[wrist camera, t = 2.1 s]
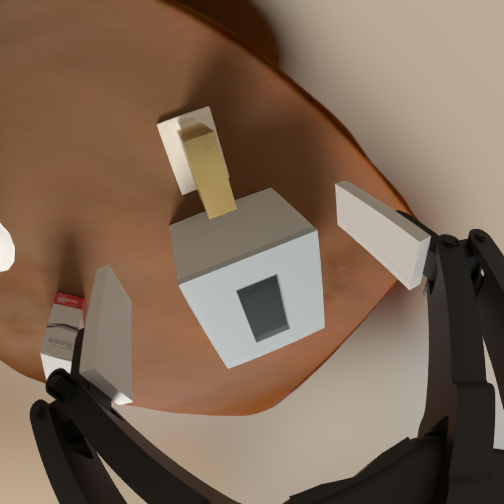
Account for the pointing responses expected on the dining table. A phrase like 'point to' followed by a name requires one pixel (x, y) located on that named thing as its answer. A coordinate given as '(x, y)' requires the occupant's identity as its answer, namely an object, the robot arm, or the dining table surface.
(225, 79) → the dining table surface
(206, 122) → the token stand
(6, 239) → the figurine
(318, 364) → the dining table surface
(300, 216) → the box
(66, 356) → the ink box
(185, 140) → the block
